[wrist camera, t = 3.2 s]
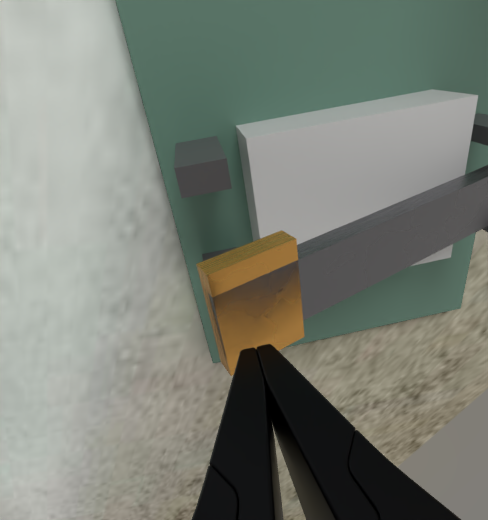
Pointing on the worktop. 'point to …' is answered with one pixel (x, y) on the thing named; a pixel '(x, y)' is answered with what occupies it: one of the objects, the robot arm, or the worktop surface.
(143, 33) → the board
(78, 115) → the worktop surface
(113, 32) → the worktop surface
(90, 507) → the worktop surface
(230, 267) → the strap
